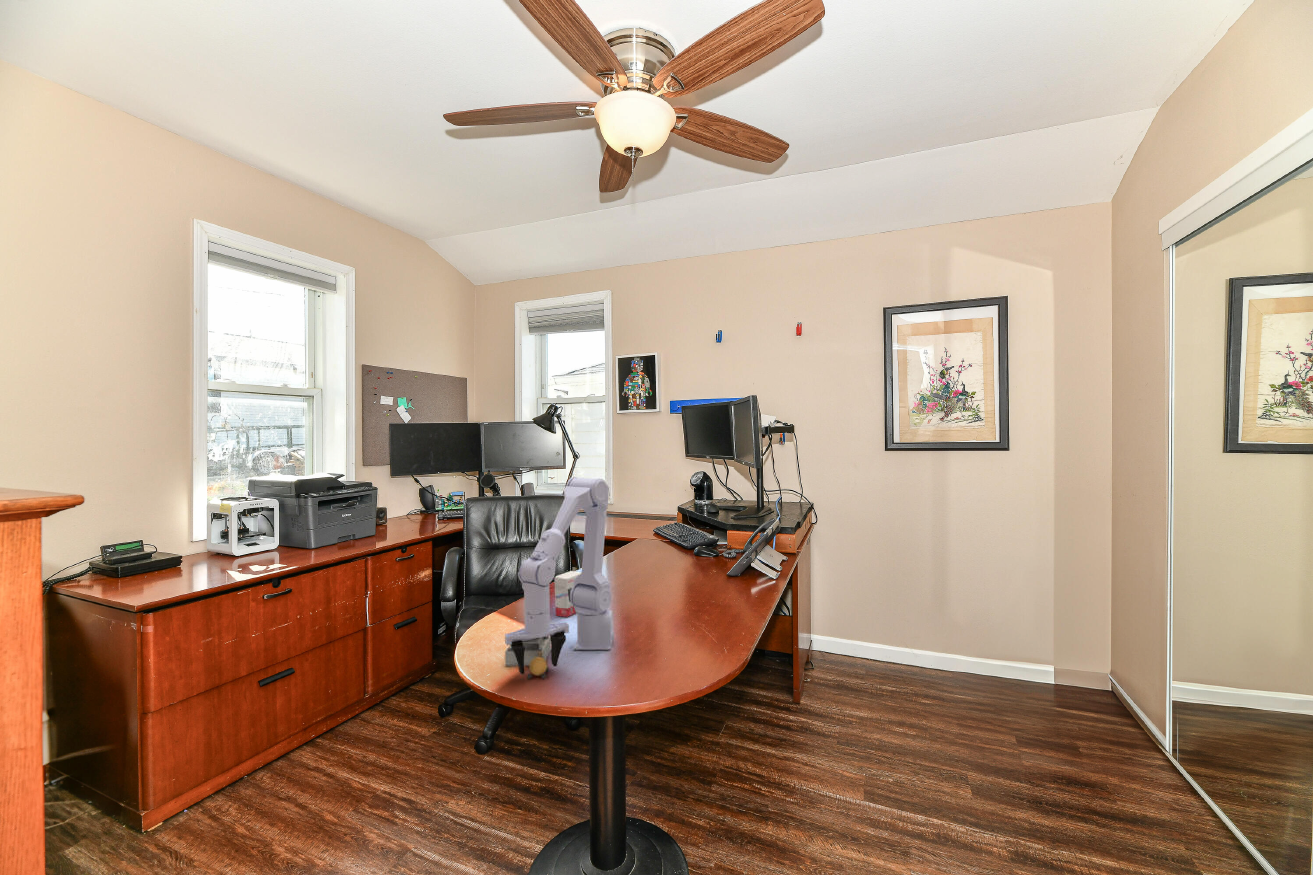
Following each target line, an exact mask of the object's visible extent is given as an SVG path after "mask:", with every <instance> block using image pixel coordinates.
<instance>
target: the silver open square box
mask: <svg viewBox="0 0 1313 875" xmlns="http://www.w3.org/2000/svg"><path fill="white" fill-rule="evenodd" d="M522 643H523V646H524V647H525V651H524V667H529V665H530V662H531V661H532V660H533V659H534V658H536V657H542V658H544V659H545V660H546V661H547V658H548V656H549V654H550V653H551V639H550V636H545V637H540V638H535V639H530V640H526V641H522ZM504 654H505V658H504V660H505V667H518V663H517V659H516V656H515V654H514V652H513V649H512V647H511V645H508V647H507V648H506V650H505V652H504Z"/></svg>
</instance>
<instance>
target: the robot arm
mask: <svg viewBox="0 0 1313 875" xmlns="http://www.w3.org/2000/svg"><path fill="white" fill-rule="evenodd" d="M609 491H610V487H609V485H608V484H607V482H606V481H605V480H604V479H603V478H590V477H589V478H588V477H587V478H586V477H585V478H584V477H577V476H576V477H575V476H574V477H570V478H569V479H568V481H567V482H566V486H565V487H564V488H563V496H564V499H563V502H562V503H561V505H560V508H559V511H558V513H557V515H556V517H555V520H554V522H553V524H552V526H551V528H550V529H547V530H544V532H543V533H542V534H541V536H540V539H539V541H537V544H536V545H535V548H534V550H533V552H532V553H531V555H530V557H528V558H527V559H525V560H524V561H523V562H522V563H521V564H520V567H519V571H518V572H517V576H518V579H519V581H520V582H521V586H522V587H521V589H522V590H523V591H524V592H523V593H524V594H523V596H524V597H523V599H524V600H523V601H524V602H523V603H524V608H523V610H524V628H522V629H518V630H514V631H513V632H509V633H505V634H504V642H505V645H506V646H510V645H511V647H512V649H513V652H514V654H515V656H516V659H517V663H518V666H517V667H518V672H519V673H520V675H525V672H526V671H525V666H524V651H525V647H524V646H523V643H522V641H526V640H530V639H535V638H540V637H545V636H549V637H550V639H551V650H550V653H551V654H550V655H551V656H550V661H551V665H552V666H553V667H554V668H555V667H557V666H558V662H559V659H560V654H561V652H562V651H561V650H562V649H563V646H564V644H565V642H567V641H566V640H567V636H566V634H569V633H570V625H569V623H568V622H560V623H559V622H558V623H551V608H550V606H551V604H550V600H551V599H550V597H551V596H550V584H551V583H552V581H553V580H554V579H555V574H556V566H557V560H558V558H559V556H560V553H561V552H562V549H563V548H564V546H565V544H566V538H565V534H566V532H567V531H568V529H569V527H570V526H571V524H572V523H573V521H574V520H575V518H576V516H577V514H578V513H579V511H580V510H583V511H584V513H585V523H584V524H585V526H584V536H583V537H584V540H583V548H582V549H583V551H582V563H581V572H582V573H581V574H580V575H579V576H577V577H576V578H575V579H574V583H573V588H572V590H571V593H570V601H571V604H572V605H573V606H574V607H575V611H577V613H576V622H577V623H576V625H577V626H576V628H577V631H576V634H577V639H576V641H575V645H574V646H573V650H575V651H577V650H578V651H582V650H583V651H587V650H588V651H591V650H592V651H597V650H599V651H602V650H603V651H605V650H606V651H607V650H608V651H610V650H611V649H612V644H613V641H614V638H615V636H614V616H613V613H614V612H613V610H611V609H609V607H610V605H611V603H612V602H611V601H612V594H611V582H610V581H609V580H608V578H606V577H605V575H603V562H604V550H605V536H606V524H607V523H606V522H607V521H606V520H607V510H608V507H609V506H608V505H609V495H610V492H609Z"/></svg>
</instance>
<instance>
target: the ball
mask: <svg viewBox="0 0 1313 875" xmlns="http://www.w3.org/2000/svg"><path fill="white" fill-rule="evenodd" d="M547 667H548V664H547V659H546V660H545V659H544V658H542V657H536V658H534V659H533V660H532V661H531V662H530V665H529V666H528V669H529V671H530V674H532V676H533V675H534V676H541V675H542V674H545V673H546V672H545V671H546V668H547Z"/></svg>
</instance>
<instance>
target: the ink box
mask: <svg viewBox="0 0 1313 875" xmlns="http://www.w3.org/2000/svg"><path fill="white" fill-rule="evenodd" d="M581 573H582V571H575V570H570V571H566V572H564V573H562V574H558V575H556V576H554V596H555V597H554V598H555V599H554V603H555V616H558V617H566V618H568V617H571V616H573V615H575V614H577V611H575V607H574V606H573V605H572V604H571V601H570V593H571V590H572V588H573V583H574V579H575V578H576V577H577V576H579V575H580V574H581Z"/></svg>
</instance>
